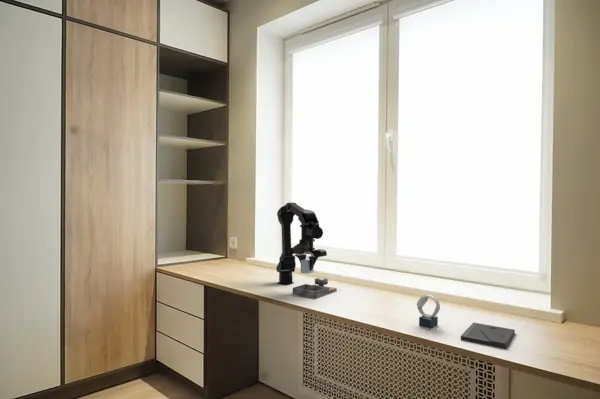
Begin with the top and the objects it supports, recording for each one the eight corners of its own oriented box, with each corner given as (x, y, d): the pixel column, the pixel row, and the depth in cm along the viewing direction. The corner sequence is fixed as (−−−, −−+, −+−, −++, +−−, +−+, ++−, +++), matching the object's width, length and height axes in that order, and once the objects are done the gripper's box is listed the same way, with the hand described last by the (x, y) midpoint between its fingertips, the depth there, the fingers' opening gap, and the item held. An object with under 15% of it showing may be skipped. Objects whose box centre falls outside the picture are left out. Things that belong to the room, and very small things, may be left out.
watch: (421, 321, 150) (422, 292, 150) (442, 326, 145) (442, 295, 145) (414, 324, 147) (414, 294, 146) (434, 329, 141) (435, 298, 141)
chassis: (292, 294, 191) (292, 287, 190) (313, 287, 205) (313, 281, 205) (316, 298, 182) (316, 291, 182) (336, 291, 197) (336, 284, 197)
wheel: (312, 283, 197) (312, 279, 197) (319, 281, 202) (319, 276, 202) (323, 285, 194) (323, 280, 194) (330, 283, 199) (330, 278, 199)
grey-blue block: (300, 272, 190) (300, 260, 190) (306, 271, 194) (306, 259, 194) (307, 273, 188) (307, 261, 188) (313, 272, 192) (313, 259, 192)
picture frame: (505, 351, 124) (514, 335, 138) (506, 343, 124) (514, 328, 138) (460, 341, 131) (473, 327, 146) (460, 334, 131) (473, 321, 146)
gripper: (281, 237, 191) (281, 270, 190) (313, 239, 179) (313, 274, 179) (295, 235, 199) (295, 267, 199) (327, 237, 188) (327, 271, 188)
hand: (307, 270), depth 191 cm, fingers closed on grey-blue block, 4 cm apart
